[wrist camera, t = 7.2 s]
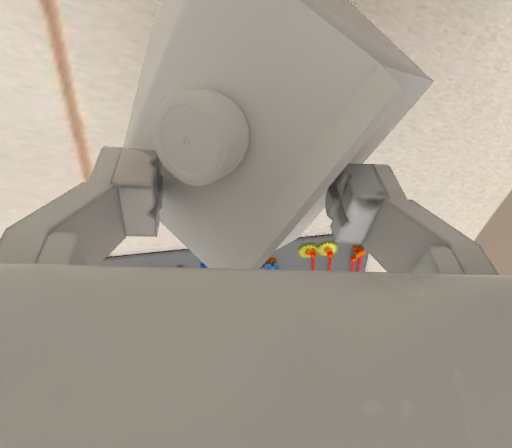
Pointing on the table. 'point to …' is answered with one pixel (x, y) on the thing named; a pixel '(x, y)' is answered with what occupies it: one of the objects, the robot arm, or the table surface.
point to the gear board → (285, 258)
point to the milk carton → (262, 116)
